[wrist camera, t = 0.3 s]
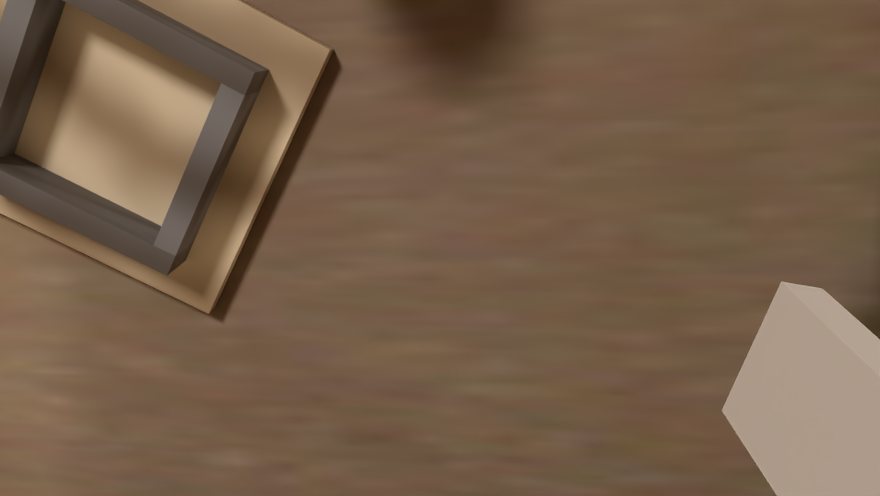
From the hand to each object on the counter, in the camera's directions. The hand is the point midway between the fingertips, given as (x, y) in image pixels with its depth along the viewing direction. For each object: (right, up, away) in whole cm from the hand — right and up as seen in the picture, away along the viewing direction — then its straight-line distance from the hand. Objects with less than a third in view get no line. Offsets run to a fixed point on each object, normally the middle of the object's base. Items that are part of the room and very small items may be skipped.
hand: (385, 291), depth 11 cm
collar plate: (-15, +8, +26) cm, 31 cm away
